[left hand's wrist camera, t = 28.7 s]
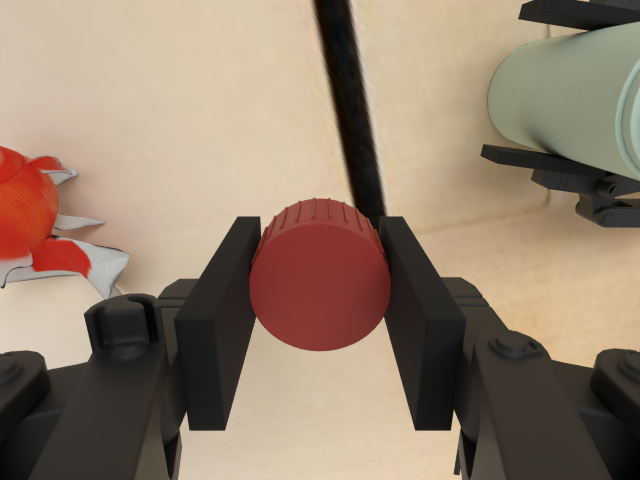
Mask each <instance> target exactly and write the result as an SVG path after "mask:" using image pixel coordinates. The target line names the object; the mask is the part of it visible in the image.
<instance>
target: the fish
mask: <svg viewBox="0 0 640 480" xmlns="http://www.w3.org/2000/svg"><path fill="white" fill-rule="evenodd" d="M77 175H78V173H77V171H76V170H73V169H71V168H68V167H65V166H64V165H63V164H62V163H61V162H60V161H59V160H58V159H57V158H55V157H50V156H42V157H38V158H35V159H30V158H28V157H26V156H24V155H22V154H20V153H18V152H16V151H13V150H11V149H8V148H5V147H2V146H0V287H1V288H2V289H3V288H4V287H5V284H6V283H12V282H18V281H26V280H33V279H41V278H48V277H56V276H73V275H83V276H84V277H85V278H86V279H87V280H88V281H89V282H90V283H91V284H92V285H93V286H94V287H95V288H96V290H97V291H98V292H99V293H100V294H101V296H102V297H103V298H104V300H106V299H109V298H112V297H115V296H120V295H122V294H121V292H120V290H119V289H117V288H116V287H115V286H114V285H115V283H116V281H117V279H118V278H119V276H120V275H121V273H122V271H123V270H124V268H125V266H126V264H127V262H128V260H129V258H130V256H131V254H128V253H126V252H123V251H121V250H119V249H115V248H109V247H103V246H97V245H92V244H89V243H85V242H81V241H77V240H73V239H69V238H64V237H60V236H55V235H52V234H51V231H52V228H53V227H54V228H56V229H58V230H72V229H77V228H81V227H86V226H92V225H98V224H103V223H104V221H99V220H94V219H90V218H85V217H76V216H66V215H61V214H59V213H58V208H59V199H58V192H57V188H56V185H60V184H62V183H64V182H65V181H67V180H69V179H71V178H73V177H75V176H77Z"/></svg>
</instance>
